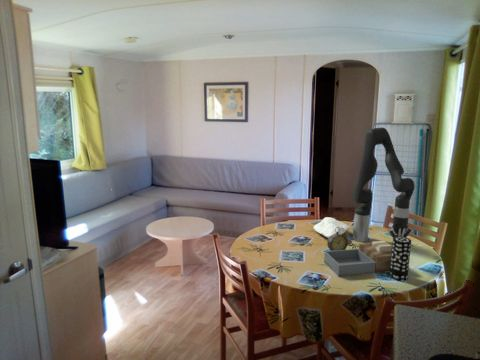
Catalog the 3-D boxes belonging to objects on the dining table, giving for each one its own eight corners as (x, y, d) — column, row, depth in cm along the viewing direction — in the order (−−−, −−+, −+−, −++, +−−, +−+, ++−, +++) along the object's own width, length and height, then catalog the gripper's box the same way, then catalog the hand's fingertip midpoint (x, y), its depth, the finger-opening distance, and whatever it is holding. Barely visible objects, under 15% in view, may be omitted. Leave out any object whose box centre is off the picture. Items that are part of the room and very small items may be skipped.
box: (324, 261, 200) (324, 251, 199) (357, 258, 204) (358, 248, 202) (338, 276, 183) (339, 265, 181) (374, 273, 186) (375, 262, 185)
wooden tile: (372, 246, 197) (372, 241, 197) (383, 245, 199) (384, 240, 198) (379, 251, 191) (379, 246, 190) (391, 250, 192) (391, 245, 191)
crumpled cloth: (345, 224, 257) (344, 212, 256) (357, 242, 223) (355, 228, 221) (312, 228, 260) (310, 216, 258) (318, 246, 226) (316, 233, 224)
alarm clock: (330, 256, 207) (331, 229, 203) (325, 252, 212) (326, 226, 208) (347, 254, 210) (348, 227, 206) (342, 250, 215) (343, 224, 211)
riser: (358, 258, 204) (359, 243, 202) (381, 256, 206) (382, 241, 204) (375, 273, 186) (377, 256, 184) (400, 270, 189) (401, 254, 187)
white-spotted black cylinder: (402, 273, 186) (406, 236, 182) (410, 280, 178) (414, 242, 174) (386, 273, 186) (390, 236, 182) (394, 281, 178) (397, 242, 174)
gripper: (407, 212, 197) (404, 242, 201) (385, 213, 195) (383, 244, 198) (416, 216, 190) (413, 247, 194) (394, 218, 188) (391, 249, 191)
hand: (398, 245), depth 196 cm, fingers closed
